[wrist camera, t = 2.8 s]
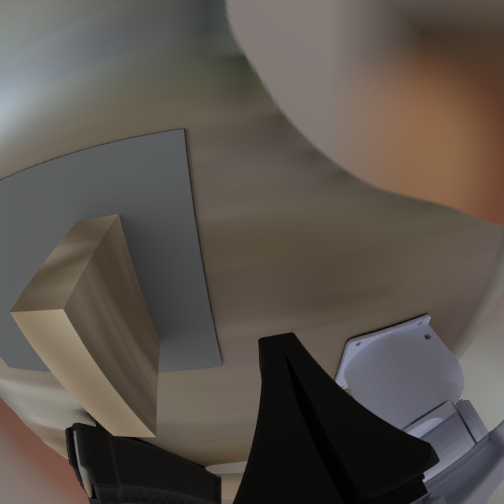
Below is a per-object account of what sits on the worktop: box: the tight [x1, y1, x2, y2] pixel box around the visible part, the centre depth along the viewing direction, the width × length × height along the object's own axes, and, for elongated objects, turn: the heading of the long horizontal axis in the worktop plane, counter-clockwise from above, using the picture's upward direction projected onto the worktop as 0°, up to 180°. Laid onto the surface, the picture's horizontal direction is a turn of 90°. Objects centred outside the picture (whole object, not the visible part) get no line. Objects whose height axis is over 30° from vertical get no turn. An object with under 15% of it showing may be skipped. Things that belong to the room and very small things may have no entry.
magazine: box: [65, 421, 221, 504], centre depth 25 cm, size 17×3×30 cm
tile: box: [10, 214, 160, 437], centre depth 11 cm, size 2×9×7 cm, turn 3°
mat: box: [0, 129, 222, 372], centre depth 14 cm, size 22×16×1 cm
